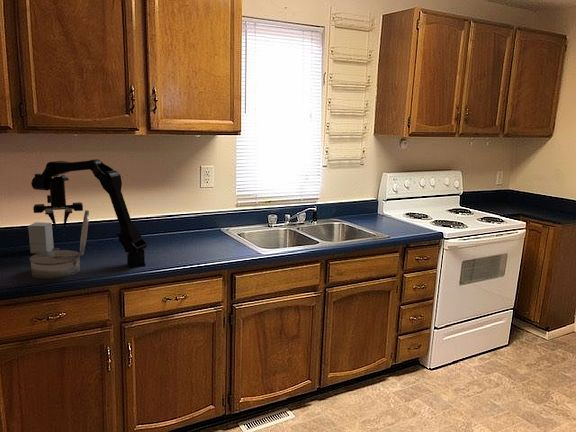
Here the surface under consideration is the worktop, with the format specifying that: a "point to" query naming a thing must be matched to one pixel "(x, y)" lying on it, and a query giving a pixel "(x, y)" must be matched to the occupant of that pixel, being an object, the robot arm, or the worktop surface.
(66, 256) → the cooker pot
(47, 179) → the robot arm
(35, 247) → the supplement box
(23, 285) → the worktop surface
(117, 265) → the worktop surface
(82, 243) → the lid
